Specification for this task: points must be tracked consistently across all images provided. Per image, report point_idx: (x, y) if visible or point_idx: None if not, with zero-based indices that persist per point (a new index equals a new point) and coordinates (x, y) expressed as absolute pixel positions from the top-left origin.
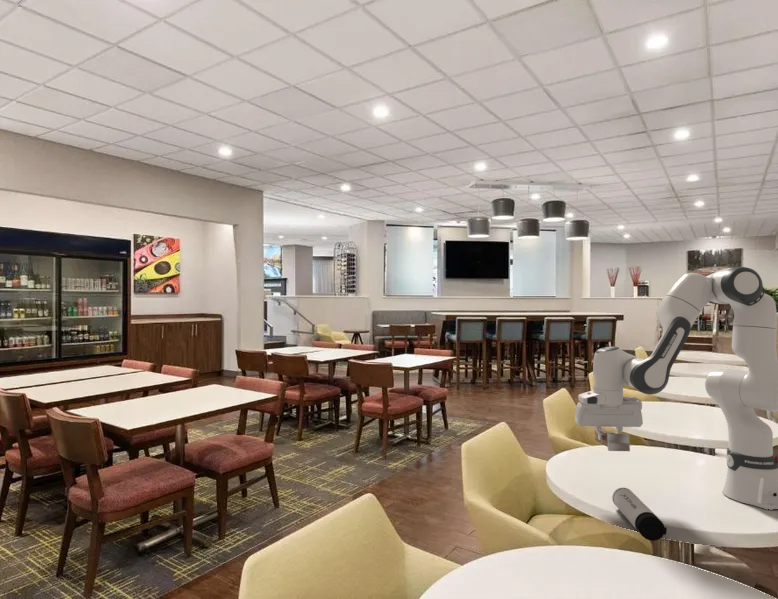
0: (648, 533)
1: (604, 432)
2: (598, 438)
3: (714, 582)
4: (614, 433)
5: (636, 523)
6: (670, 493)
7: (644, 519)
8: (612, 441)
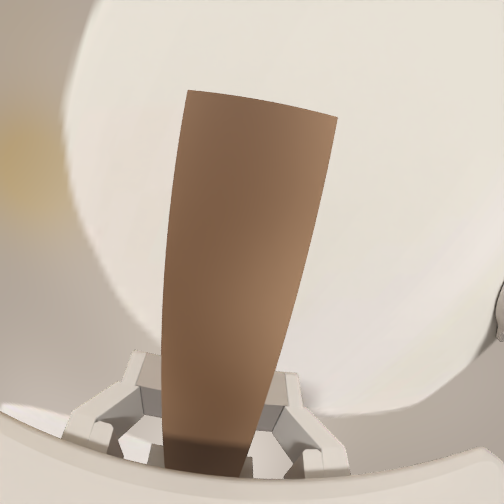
0: None
1: (169, 421)
2: (133, 354)
3: None
4: (241, 456)
5: None
6: (418, 258)
7: None
8: None
